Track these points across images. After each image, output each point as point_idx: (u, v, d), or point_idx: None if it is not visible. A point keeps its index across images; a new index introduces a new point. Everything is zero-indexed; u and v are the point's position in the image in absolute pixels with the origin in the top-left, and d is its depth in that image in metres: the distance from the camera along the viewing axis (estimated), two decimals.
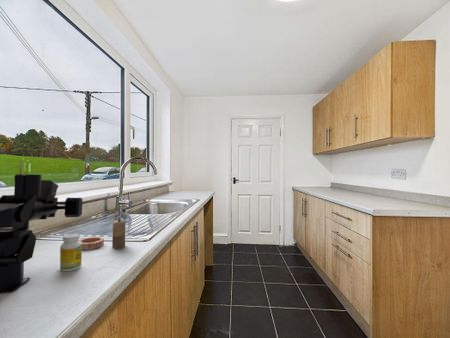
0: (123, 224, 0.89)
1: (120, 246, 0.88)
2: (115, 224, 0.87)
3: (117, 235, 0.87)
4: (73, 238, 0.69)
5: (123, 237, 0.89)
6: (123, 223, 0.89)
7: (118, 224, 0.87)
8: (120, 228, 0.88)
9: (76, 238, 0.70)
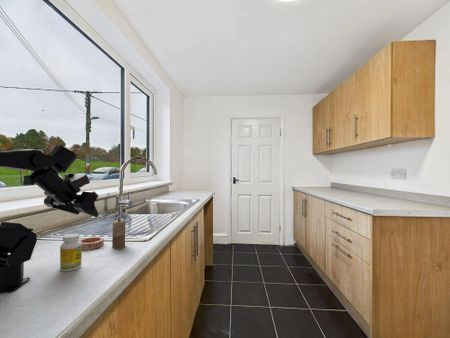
0: (123, 224, 0.89)
1: (120, 246, 0.88)
2: (115, 224, 0.87)
3: (117, 235, 0.87)
4: (73, 238, 0.69)
5: (123, 237, 0.89)
6: (123, 223, 0.89)
7: (118, 224, 0.87)
8: (120, 228, 0.88)
9: (76, 238, 0.70)
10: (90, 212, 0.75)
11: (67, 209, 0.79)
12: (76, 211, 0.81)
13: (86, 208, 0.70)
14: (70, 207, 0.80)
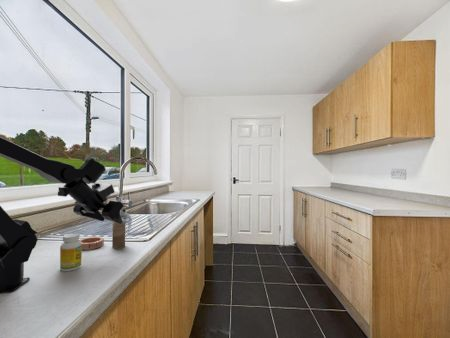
0: (123, 224, 0.89)
1: (120, 246, 0.88)
2: (115, 224, 0.87)
3: (117, 235, 0.87)
4: (73, 238, 0.69)
5: (123, 237, 0.89)
6: (123, 223, 0.89)
7: (118, 224, 0.87)
8: (120, 228, 0.88)
9: (76, 238, 0.70)
10: (116, 219, 0.81)
11: (94, 216, 0.85)
12: (101, 218, 0.88)
13: (113, 216, 0.76)
14: (96, 215, 0.86)
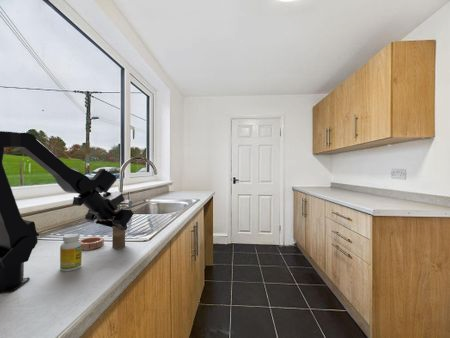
0: None
1: (120, 246, 0.88)
2: None
3: (117, 235, 0.87)
4: (73, 238, 0.69)
5: (123, 237, 0.89)
6: None
7: None
8: None
9: (76, 238, 0.70)
10: (121, 226, 0.86)
11: (108, 224, 0.88)
12: None
13: (124, 224, 0.80)
14: (111, 222, 0.89)
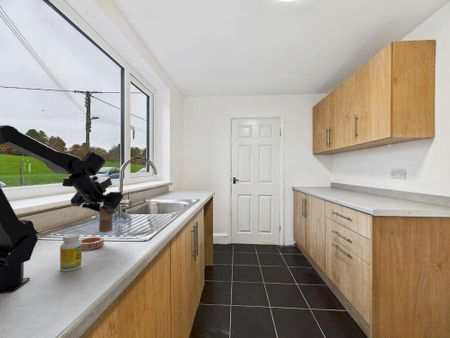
0: None
1: (108, 229, 0.89)
2: None
3: (105, 219, 0.88)
4: (73, 238, 0.69)
5: (111, 221, 0.90)
6: None
7: None
8: (108, 212, 0.89)
9: (76, 238, 0.70)
10: (110, 209, 0.87)
11: (95, 208, 0.88)
12: None
13: (115, 206, 0.82)
14: (97, 207, 0.89)
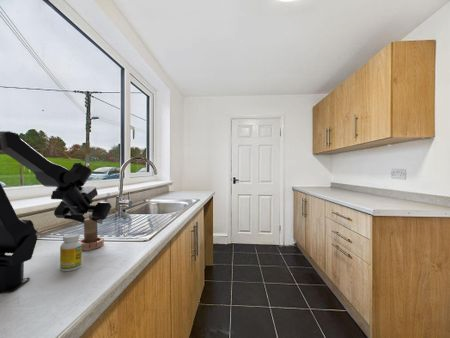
0: None
1: None
2: (88, 222, 0.88)
3: (91, 232, 0.88)
4: (73, 238, 0.69)
5: (96, 234, 0.90)
6: None
7: (91, 221, 0.88)
8: (93, 225, 0.89)
9: (76, 238, 0.70)
10: (99, 220, 0.87)
11: (78, 219, 0.88)
12: None
13: (104, 216, 0.83)
14: (79, 217, 0.89)
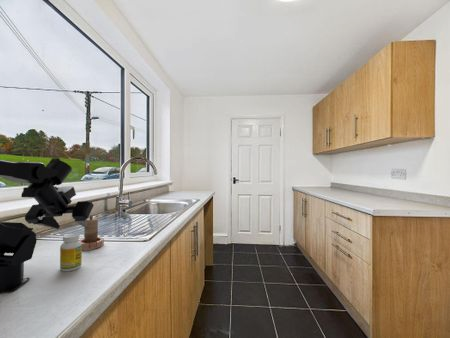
0: (96, 221, 0.90)
1: None
2: (88, 222, 0.88)
3: (91, 233, 0.88)
4: (73, 238, 0.69)
5: (96, 234, 0.90)
6: (96, 220, 0.90)
7: (92, 222, 0.88)
8: (94, 225, 0.89)
9: (76, 238, 0.70)
10: (83, 221, 0.78)
11: (50, 224, 0.78)
12: (57, 225, 0.80)
13: (87, 216, 0.74)
14: (52, 222, 0.79)
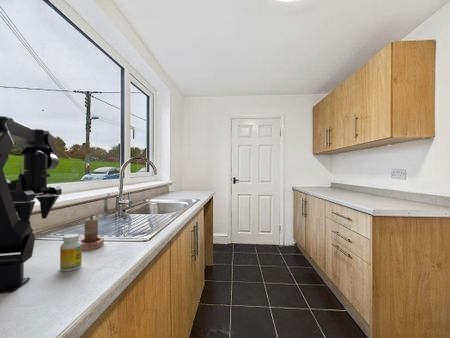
0: (96, 221, 0.90)
1: None
2: (88, 222, 0.88)
3: (91, 232, 0.88)
4: (73, 238, 0.69)
5: (96, 234, 0.90)
6: (96, 220, 0.90)
7: (92, 221, 0.88)
8: (94, 225, 0.89)
9: (76, 238, 0.70)
10: None
11: None
12: None
13: None
14: None
